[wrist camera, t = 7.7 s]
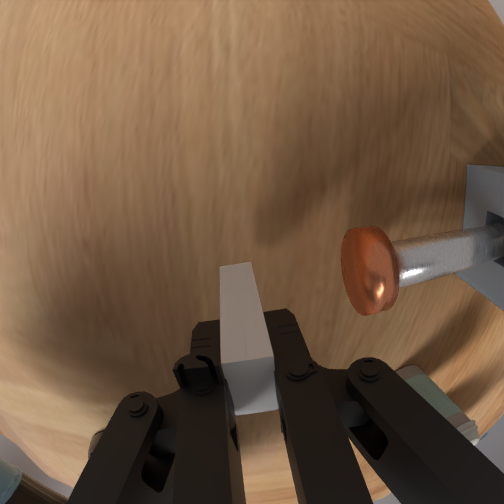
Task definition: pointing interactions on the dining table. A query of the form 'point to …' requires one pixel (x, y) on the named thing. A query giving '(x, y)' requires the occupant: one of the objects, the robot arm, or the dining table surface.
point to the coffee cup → (439, 401)
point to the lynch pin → (410, 261)
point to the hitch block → (479, 214)
